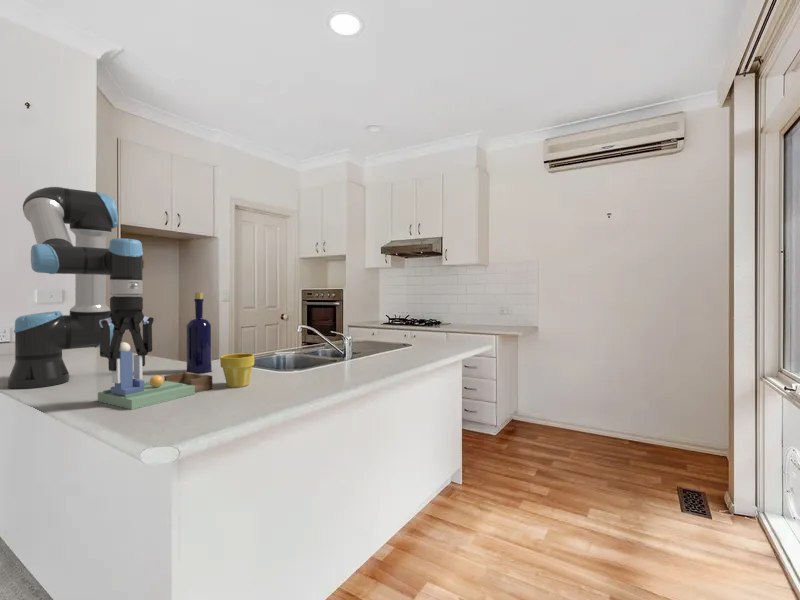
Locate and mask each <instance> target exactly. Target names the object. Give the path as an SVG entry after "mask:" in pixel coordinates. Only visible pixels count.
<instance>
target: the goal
mask: <svg viewBox="0 0 800 600" xmlns="http://www.w3.org/2000/svg"><path fill="white" fill-rule="evenodd" d="M163 380H164V381H169V382H175V383H183V384H187V385H193V386H195V393H200V392H203V391H207V390H212V389H213V375H209V374H204V373H203V374H196V373H189V372H187V371H184V372H179V373H178V372H177V373H174V374H168V375H164V378H163Z"/></svg>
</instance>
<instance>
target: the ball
mask: <svg viewBox="0 0 800 600" xmlns="http://www.w3.org/2000/svg"><path fill="white" fill-rule="evenodd" d="M163 381H164V378H163V377H162V375H153V376H152V377H151V378H150V379H149V382H150V385H151V386H152V387H160V386H161V385H162V384H163Z"/></svg>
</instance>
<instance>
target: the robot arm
mask: <svg viewBox="0 0 800 600" xmlns="http://www.w3.org/2000/svg"><path fill="white" fill-rule="evenodd" d="M24 199H25V200H24V201H23V204H22V211H23V216H24V217H25V218H26V220H27V221H28V222H30V225H31V227H32V232H33V234H34V238H35V241H36V243H35V244H33V245H32V246H31V248H30V264H31V269H32V271H34V273H40V274H41V273H42V274H49V275H55V274H61V275H62V274H63V275H65V274H66V275H68V274H69V275H70V274H71V275H75V281H74V282H75V283H74V284H75V288H74V290H75V294H74V295H75V302H74V305H73V306H72V307H71V308H70V309H69V314H68V315H67V314H65V315H63V313H62V311H60V310H58V311H47V312H46V311H45V312H38V313H31V314H30V313H29V314H25V315H21V316H18V317H17V318H16V319H15V322H14V330H13V333H14V347H15V348H14V365H13V367H12V370H11V372H10V374H9V377H8V379H7V387H8V388H10V389H35V388H42V387H43V388H44V387H49V386H55V385H60V384H65V383H67V382H69V381H70V373H69V371H68V368H67V366H66V363H65V362H64V361H65V360H64V359H63V350H64V351H65V350H75V349H87V348H88V349H89V348H99V356H100V357H101V358H106V359H108V371H109V372H111V383H114V384H115V383H121V363H120V359H119V358H117V356H118V352H119V348H120V344H121V342H123V341H122V340H123V337H124V334H125V333H126V331H128V330H129V331H128V332H129V333H130V334H131V338H132V342H133V345H134V348H135V353H136V354H134V355H133V379H138V380H143V367H145V366H146V356H147V355H148V354H149V353H152V352H153V323H154V318H153V317H149V316H145V315H144V312H143V310H144V298H143V296H141V295H143V293H144V291H143V289H144V288H143V286H144V285H143V279H144V278H143V274H144V273H143V271H144V270H143V268H144V267H143V263H144V262H143V256H144V251H143V245H142V242H141V241H140V240H139V239H132V238H119V237H118V238H111V239H110V240H109V246H108V248H107V238H108V237H109V236H110V235H111V234H112V232H113V231H112V229H113V230H114V229H116V228H117V227H118V221H119V216H118V215H119V214H118V207H117V205H116V202H115V200H114V198H113V196H110V195H108V194H104V193H103V192H102V193H101V192H96V191H88V190H82V189H74V188H73V189H72V188H69V187H68V188H67V187H62V186H61V187H60V186H48V187H43V188H40V189H37V190H34V191H33V192H31V193H30V194H29V195H28V196H27V197H26V198H24ZM66 224H68V225H69V230H70V232H72V233H73V234H74V236H75V246H74V244H73V242H72V239H71V236H70V234H69V231H68V229H67V226H66ZM107 276H109V295H112V296H110V298H109V306H108V305H107ZM141 323H142V330H141V326H140V324H141ZM141 331H142V333H141Z"/></svg>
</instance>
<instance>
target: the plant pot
mask: <svg viewBox="0 0 800 600" xmlns="http://www.w3.org/2000/svg"><path fill="white" fill-rule="evenodd" d="M219 359H220V360H219V362H220V367H221V368H222V370H223V374H224V379H225V383H226V386H227V387H228V388H243V387H247V386H249V384H250V380H251V375H252V370H253V366H254V365H255V355H254V353H248V352H247V353H246V352H245V353H231V354H224V355H221V356H220V358H219Z"/></svg>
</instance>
